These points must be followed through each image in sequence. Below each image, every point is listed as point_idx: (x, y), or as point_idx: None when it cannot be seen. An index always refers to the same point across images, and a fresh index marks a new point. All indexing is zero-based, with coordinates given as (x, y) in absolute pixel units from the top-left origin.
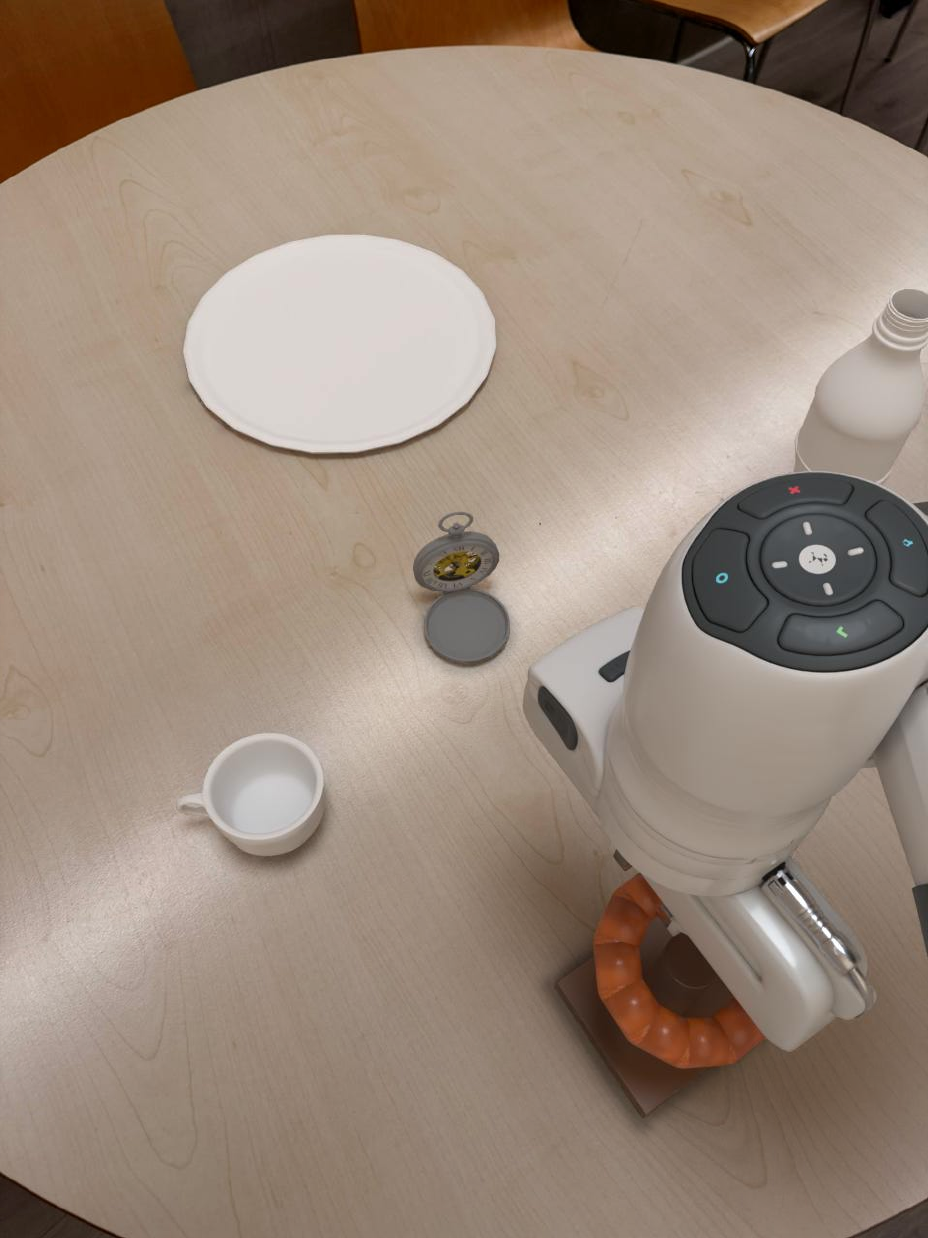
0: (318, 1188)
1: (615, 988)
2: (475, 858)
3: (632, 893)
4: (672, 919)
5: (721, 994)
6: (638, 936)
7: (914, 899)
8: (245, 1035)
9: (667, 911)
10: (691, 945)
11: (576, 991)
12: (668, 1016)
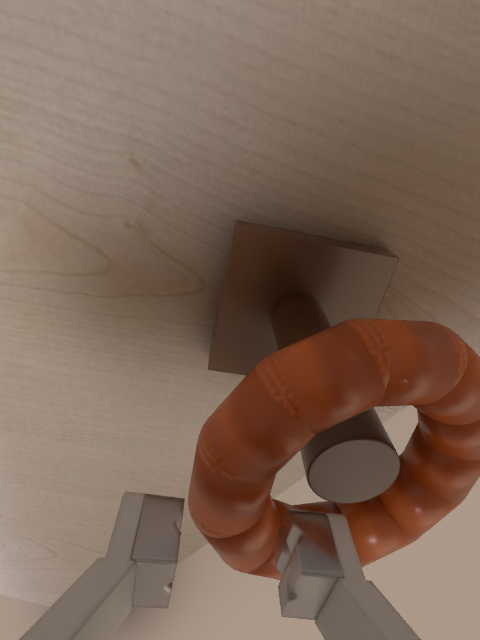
0: (194, 531)
1: None
2: (52, 326)
3: (216, 529)
4: (322, 634)
5: (345, 263)
6: (271, 539)
7: None
8: (78, 518)
9: (301, 615)
10: (340, 461)
11: (228, 362)
12: (369, 539)
